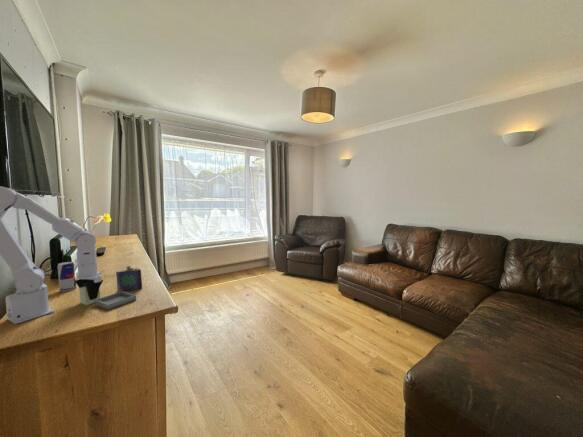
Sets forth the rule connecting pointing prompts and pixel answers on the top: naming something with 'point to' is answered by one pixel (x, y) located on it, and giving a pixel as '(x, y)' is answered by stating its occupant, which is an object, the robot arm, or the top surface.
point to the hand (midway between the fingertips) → (90, 297)
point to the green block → (86, 296)
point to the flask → (129, 279)
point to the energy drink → (66, 276)
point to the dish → (115, 300)
